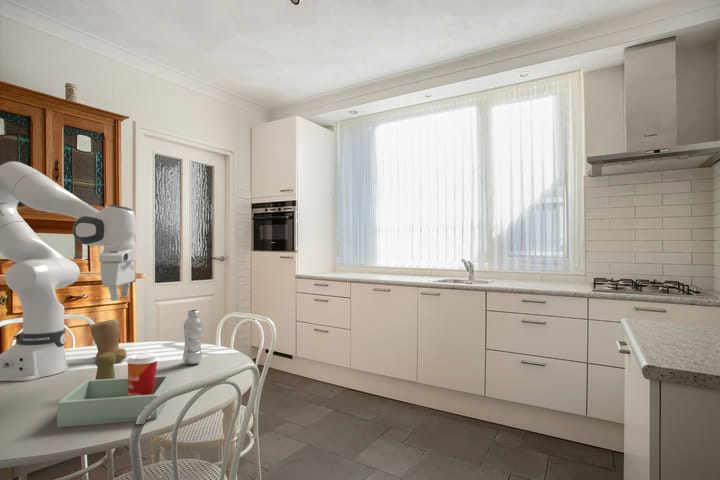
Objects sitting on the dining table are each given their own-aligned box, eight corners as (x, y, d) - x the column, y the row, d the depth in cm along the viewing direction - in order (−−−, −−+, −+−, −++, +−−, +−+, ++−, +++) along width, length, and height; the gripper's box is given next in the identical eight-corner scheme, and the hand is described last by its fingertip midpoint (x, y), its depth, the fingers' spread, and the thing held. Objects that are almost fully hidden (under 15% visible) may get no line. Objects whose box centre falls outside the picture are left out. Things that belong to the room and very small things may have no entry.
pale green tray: (56, 427, 93) (57, 402, 93) (85, 401, 108) (86, 380, 109) (156, 419, 98) (157, 395, 99) (170, 395, 114) (171, 375, 114)
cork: (104, 395, 113) (105, 357, 113) (87, 393, 114) (88, 356, 115) (121, 387, 119) (122, 352, 119) (105, 386, 120) (106, 351, 120)
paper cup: (120, 407, 105) (124, 355, 106) (151, 401, 110) (154, 351, 111) (126, 415, 99) (130, 360, 100) (159, 409, 104) (162, 356, 105)
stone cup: (90, 356, 151) (91, 318, 151) (125, 352, 157) (126, 316, 158) (88, 367, 138) (89, 325, 138) (126, 362, 145) (128, 322, 145)
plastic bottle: (197, 366, 141) (198, 312, 141) (179, 366, 141) (180, 311, 141) (204, 361, 147) (206, 309, 148) (187, 360, 148) (188, 309, 148)
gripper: (119, 254, 133) (119, 294, 133) (96, 256, 113) (96, 303, 113) (140, 254, 135) (140, 294, 134) (120, 256, 115) (120, 302, 115)
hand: (119, 298), depth 123 cm, fingers open, 8 cm apart
